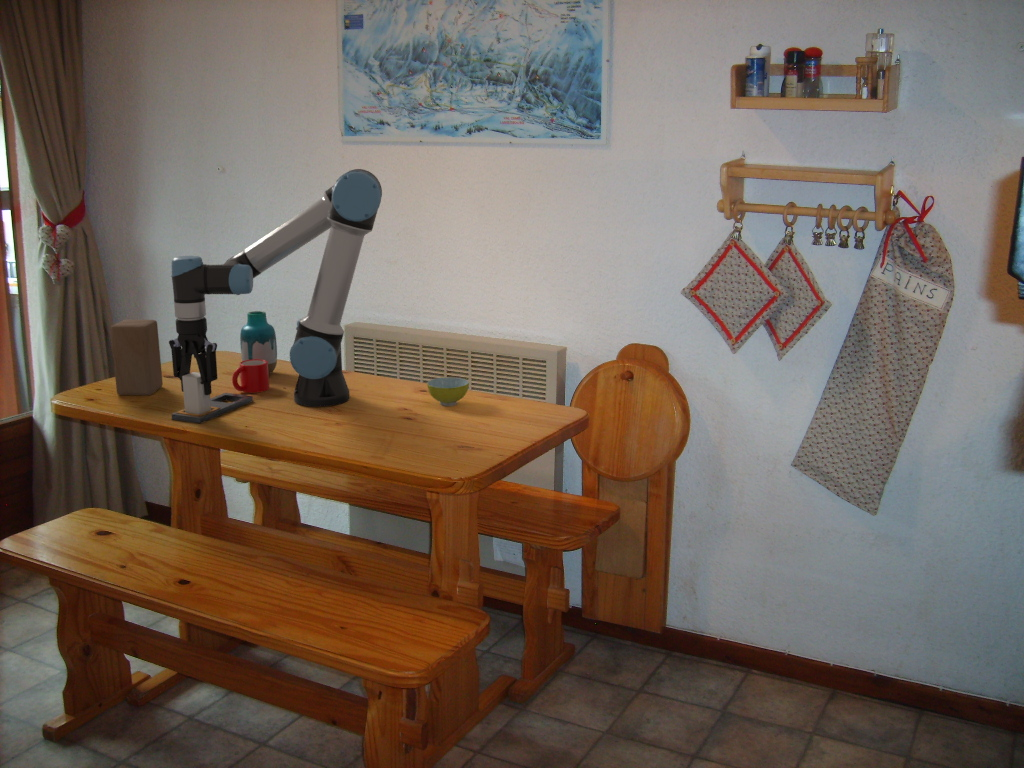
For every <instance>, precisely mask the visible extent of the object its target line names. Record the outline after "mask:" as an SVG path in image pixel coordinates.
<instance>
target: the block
mask: <svg viewBox="0 0 1024 768" xmlns="http://www.w3.org/2000/svg"><path fill="white" fill-rule="evenodd" d="M110 337H111V339H110V340H111V350H112V357H113V366H114V368H113V369H114V378H115V379H114V380H115V388H116V393H117V395H119V396H151V395H152V394H154V393H156V392H157V391H158V390H159V389H161V388H163V372H162V361H161V352H160V339H159V329H158V321H157V320H155V319H129V318H127V319H124V320H120V321H119V322H117V323H114V324H112V325H111V326H110Z"/></svg>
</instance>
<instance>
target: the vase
mask: <svg viewBox="0 0 1024 768" xmlns="http://www.w3.org/2000/svg"><path fill="white" fill-rule="evenodd" d="M246 315H247V318H246V319H247V320H246V321H247V322H246V324H245V325H244V326H242V327H241V329H240V335H239V338H240V343H239V344H240V345H239V347H240V357H241V362H242V361H245V360H252V359H261V360H266V361H267V362H268V373H269V374H271V373H273V372H274V371H275V369H276V367H277V363H278V348H277V347H278V345H277V335H276V330H275V327H274V326H273V325H272V324H270V323H269V322H268V320H267V313H266V311H261V310H254V311H249V312H247V314H246Z"/></svg>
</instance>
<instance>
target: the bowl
mask: <svg viewBox="0 0 1024 768" xmlns="http://www.w3.org/2000/svg"><path fill="white" fill-rule="evenodd" d="M426 385H427V389H428V392H429V394H430V396H431V397H432V398H433V399H434V400H436V401H438V402H439V403H440V404H439V405H441V406H444V407H453V406H456V405H458V401H460V400H461V399H463V398H464V396H466V394H467V393H468V390H469V386H470V381H469V380H467V379H465V378H460V377H438V378H433V379H430V380H428V381H427V383H426Z"/></svg>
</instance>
